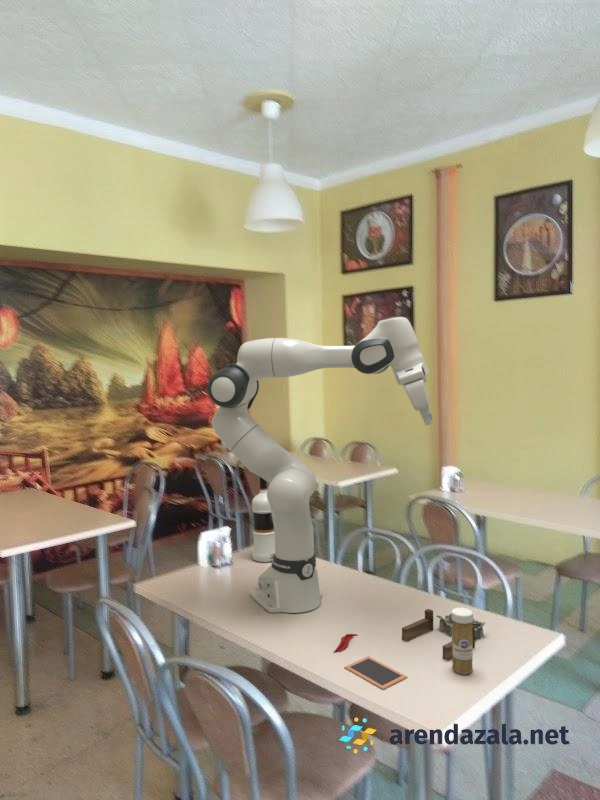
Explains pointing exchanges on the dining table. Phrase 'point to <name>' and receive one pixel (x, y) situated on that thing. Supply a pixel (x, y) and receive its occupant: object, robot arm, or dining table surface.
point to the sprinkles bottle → (462, 640)
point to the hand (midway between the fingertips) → (429, 422)
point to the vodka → (262, 526)
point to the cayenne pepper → (344, 642)
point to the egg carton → (446, 626)
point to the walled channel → (426, 626)
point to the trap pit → (376, 672)
